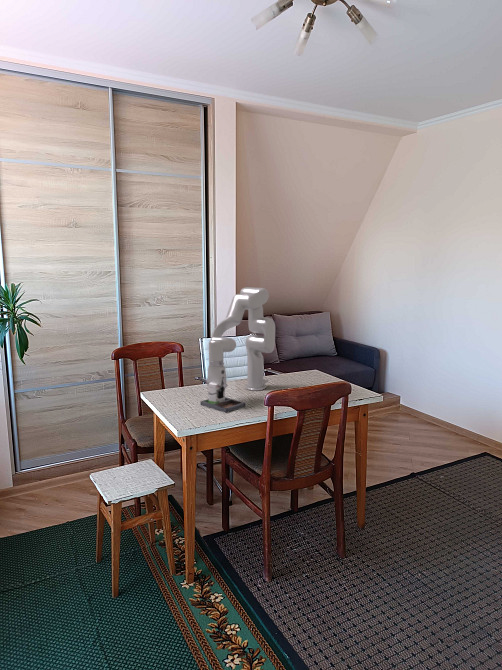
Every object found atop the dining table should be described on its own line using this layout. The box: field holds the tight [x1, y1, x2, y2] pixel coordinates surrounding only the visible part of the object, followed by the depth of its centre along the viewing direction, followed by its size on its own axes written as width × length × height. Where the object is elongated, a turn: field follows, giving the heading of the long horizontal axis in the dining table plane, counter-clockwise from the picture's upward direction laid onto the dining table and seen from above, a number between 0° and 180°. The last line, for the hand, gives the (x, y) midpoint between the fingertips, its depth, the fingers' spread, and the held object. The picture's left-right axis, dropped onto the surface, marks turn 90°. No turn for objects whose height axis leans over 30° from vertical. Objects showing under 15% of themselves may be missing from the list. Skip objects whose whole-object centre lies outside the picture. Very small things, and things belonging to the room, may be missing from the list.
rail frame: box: [200, 396, 246, 414], centre depth 243 cm, size 14×19×2 cm
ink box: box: [207, 383, 226, 404], centre depth 246 cm, size 9×5×12 cm, turn 149°
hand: (216, 396), depth 246 cm, fingers closed on ink box, 5 cm apart
